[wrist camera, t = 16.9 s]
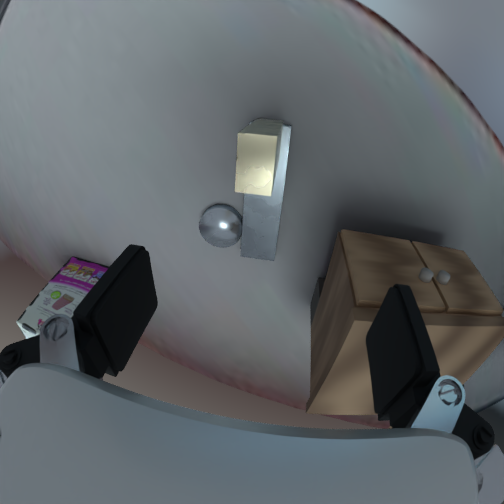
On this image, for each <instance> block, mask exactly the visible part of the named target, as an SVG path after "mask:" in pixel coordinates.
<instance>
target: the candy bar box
mask: <svg viewBox="0 0 504 504" xmlns="http://www.w3.org/2000/svg"><path fill="white" fill-rule="evenodd" d="M108 268H109V267H107V266H103V265H99V264H95V263H92V262H88V261H84V260H81V259H78V258H74V257H71V258H70V260H69V261H68V262H67V263H66V264H65V265H64V266H63V267H62V268H61V269H60V270H59V271H58V272H57V273H56V275H55V276H54V277H53V278H52V279H51V280H50V281H49V282H48V284H47V285H46V286H45V287H44V288H43V290H42V291H41V292H40V293H39V294H38V295H37V296H36V298H35V299H34V300H33V301H32V302H31V304H30V305H29V306H28V307H27V309H26V310H25V311H24V312H23V314H22V315H21V316H20V318H19V319H18V320H17V321H16V322H17V324H18V326H19V328H20V329H21V331H22V333H23V334H24V336H25V338H26V339H27V338H30V337H33V336H36V335H39V334H40V329H41V326H42V324H43V323H44V322H45V321H46V320H47V319H48V318H49V317H51V316H53V315H56V314H66V315H68V316H69V317H70V318H71V317H72V316H73V315H74V314H73V311H74V310H75V309H76V307H77V306H78V305H79V303H80V302H81V301H82V300H83V298H84V297H85V296H86V295H87V293H88V292H89V291H90V290H91V289H92V287H93V286H94V285H95V284H96V282H97V281H98V280H99V279H100V278H101V277H102V275H103V274H104V273H105V272H106V271H107V269H108Z"/></svg>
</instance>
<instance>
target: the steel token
mask: <svg viewBox="0 0 504 504" xmlns="http://www.w3.org/2000/svg"><path fill="white" fill-rule="evenodd" d="M242 225H243V219H242V217H241V215H240V214H239V212H238V211H237V210H235V209H234V208H232V207H231V206H228V205H224V204H217V205H213V206H211V207H209V208H208V209H207V210H206V211H205V213H204V214H203V216H202V217H201V219H200V222H199V229H200V233H201V235H202V237H203V238H204V239H205V240H206V241H207V242H208V243H210V244H211V245H213V246H216V247H229V246H232V245H234V244H235V243H236V242H237V241H238V240H239V239H240V237H241V234H242Z"/></svg>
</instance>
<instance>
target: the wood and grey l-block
mask: <svg viewBox="0 0 504 504" xmlns="http://www.w3.org/2000/svg"><path fill="white" fill-rule="evenodd" d="M290 133H291V125H286V124H283V121H280V120H271V119H261V118H258V119H256V120H255V121H251V122H249V125H248V126H247V127H245V128H244V129H243V130H241V131H240V132H238V143H237V160H236V178H235V192H239V193H244V209H243V225H242V241H241V256H242V257H249V258H256V259H263V260H271V261H274V258H275V251H276V244H277V237H278V230H279V222H280V215H281V207H282V200H283V192H284V184H285V176H286V168H287V159H288V151H289V142H290Z"/></svg>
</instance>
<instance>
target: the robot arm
mask: <svg viewBox="0 0 504 504" xmlns="http://www.w3.org/2000/svg"><path fill="white" fill-rule="evenodd" d="M157 303H158V302H157V296H156V291H155V286H154V280H153V275H152V269H151V263H150V257H149V252H148V251H146V250H145V247H143V246H138V245H132V244H131V245H129V246H128V247H127V248H126V249H125V250H124V251H123V252H122V254H121V255H120V256H119V257H118V258H117V259H116V260H115V261H114V263H113V264H112V265H111V266H110V267H109V268H108V269H107V271H106V272H105V273H104V274H103V275H102V277H101V278H100V279H99V280H98V281H97V282H96V284H95V285H94V286H93V287H92V289H91V290H90V291H89V292H88V293H87V295H86V296H85V297H84V298H83V300H82V301H81V302H80V303H79V305H78V306H77V307H76V309H75V310H74V311H73V314H74V315H73V316H72V317H71V318H70V317H69V316H68V315H66V314H56V315H53V316H51V317H49V318H48V319H47V320H46V321H45V322H44V323H43V324H42V326H41V329H40V334H39V335H36V336H33V337H30V338H27V339H24V340H22V341H19V342H16V343H13V344H10V345H8V346H6V347H5V348H4V349H3V350H2V352H1V353H0V504H501V503H502V502H503V500H504V455H503V454H502V452H501V450H500V449H499V447H498V445H497V444H496V445H495V446H493V443H494V431H493V429H492V427H491V426H490V424H489V423H488V422H486V421H485V420H484V419H483V418H482V417H480V416H479V415H478V414H477V413H476V412H474V411H473V410H472V409H471V408H470V407H468V406H467V405H466V404H465V403H464V402H465V390H464V388H463V386H462V384H461V383H460V382H459V381H458V380H457V379H456V378H454V377H452V376H448V375H445V376H442V377H441V375H440V368H439V365H438V362H437V358H436V355H435V352H434V349H433V346H432V343H431V340H430V337H429V334H428V331H427V328H426V326H425V323H424V320H423V318H422V315H421V312H420V310H419V307H418V305H417V302H416V300H415V297H414V295H413V292H412V290H411V288H410V286H409V285H403V284H395V285H394V286H393V287H390V288H389V289H388V292H387V294H386V296H385V298H384V300H383V302H382V304H381V307H380V309H379V311H378V313H377V315H376V317H375V319H374V321H373V323H372V325H371V327H370V328H369V330H368V332H367V335H366V347H367V354H368V361H369V368H370V376H371V384H372V393H373V403H374V411H375V413H376V414H378V421H383V420H390V428H389V429H319V428H304V427H292V426H282V425H273V424H266V423H259V422H252V421H246V420H240V419H234V418H229V417H224V416H219V415H214V414H210V413H205V412H201V411H197V410H193V409H189V408H185V407H181V406H177V405H174V404H170V403H167V402H163V401H160V400H157V399H153V398H150V397H147V396H144V395H141V394H138V393H135V392H132V391H129V390H126V389H124V388H121V387H118V386H116V385H113V384H110V383H108V382H105V381H103V378H102V377H103V376H104V374H105V373H107V374H109V375H112V376H115V377H116V376H117V374H118V372H119V371H122V370H123V369H124V368H125V366H126V364H127V362H128V360H129V358H130V356H131V354H132V352H133V350H134V348H135V347H136V345H137V343H138V341H139V339H140V337H141V336H142V334H143V332H144V330H145V328H146V326H147V325H148V323H149V321H150V319H151V317H152V316H153V314H154V312H155V310H156V308H157ZM502 317H504V311H503V313H502Z"/></svg>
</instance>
